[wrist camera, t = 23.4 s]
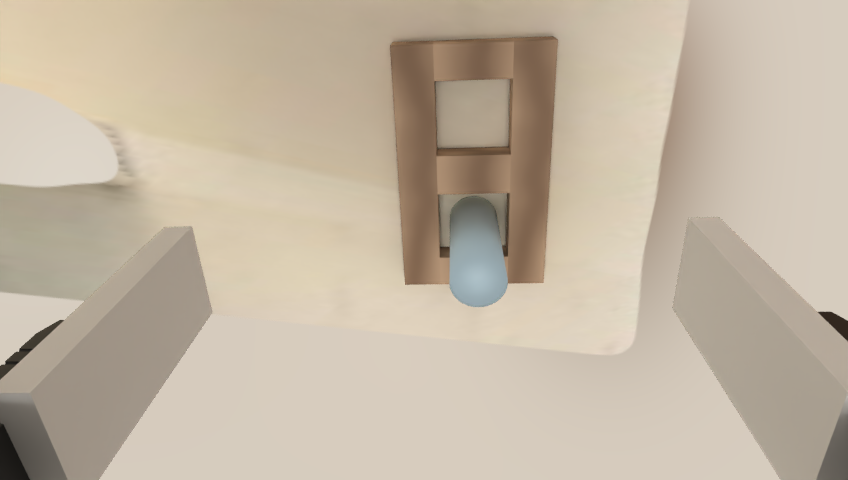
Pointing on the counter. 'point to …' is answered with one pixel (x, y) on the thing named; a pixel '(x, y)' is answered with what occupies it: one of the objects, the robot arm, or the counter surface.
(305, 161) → the counter surface
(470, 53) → the socket board
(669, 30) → the counter surface
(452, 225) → the peg
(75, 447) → the robot arm
